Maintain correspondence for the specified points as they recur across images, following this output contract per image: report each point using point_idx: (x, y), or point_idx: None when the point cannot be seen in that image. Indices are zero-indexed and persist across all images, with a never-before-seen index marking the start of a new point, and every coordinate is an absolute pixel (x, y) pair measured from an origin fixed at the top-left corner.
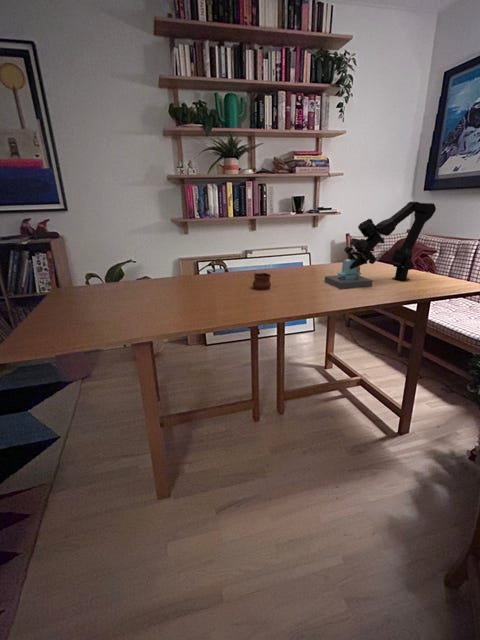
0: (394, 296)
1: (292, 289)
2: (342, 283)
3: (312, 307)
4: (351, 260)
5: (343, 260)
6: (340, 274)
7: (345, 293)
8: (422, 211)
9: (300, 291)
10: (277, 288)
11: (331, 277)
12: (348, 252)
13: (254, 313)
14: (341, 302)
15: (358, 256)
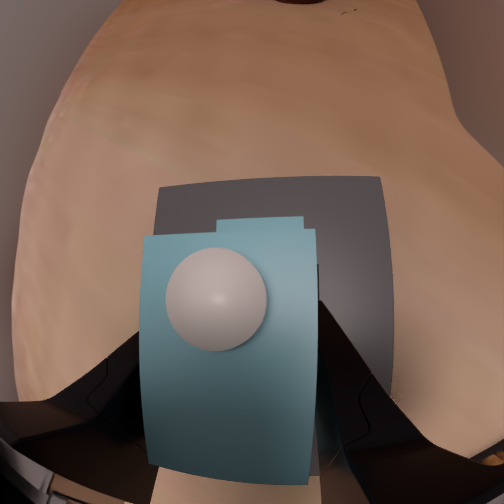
0: (36, 379)
1: (257, 34)
2: (159, 202)
3: (90, 68)
4: (222, 389)
5: (297, 230)
6: (241, 220)
7: (112, 196)
8: None
9: (221, 47)
10: (284, 12)
11: (332, 203)
12: (491, 474)
13: (136, 4)
14: (64, 139)
15: (22, 412)
